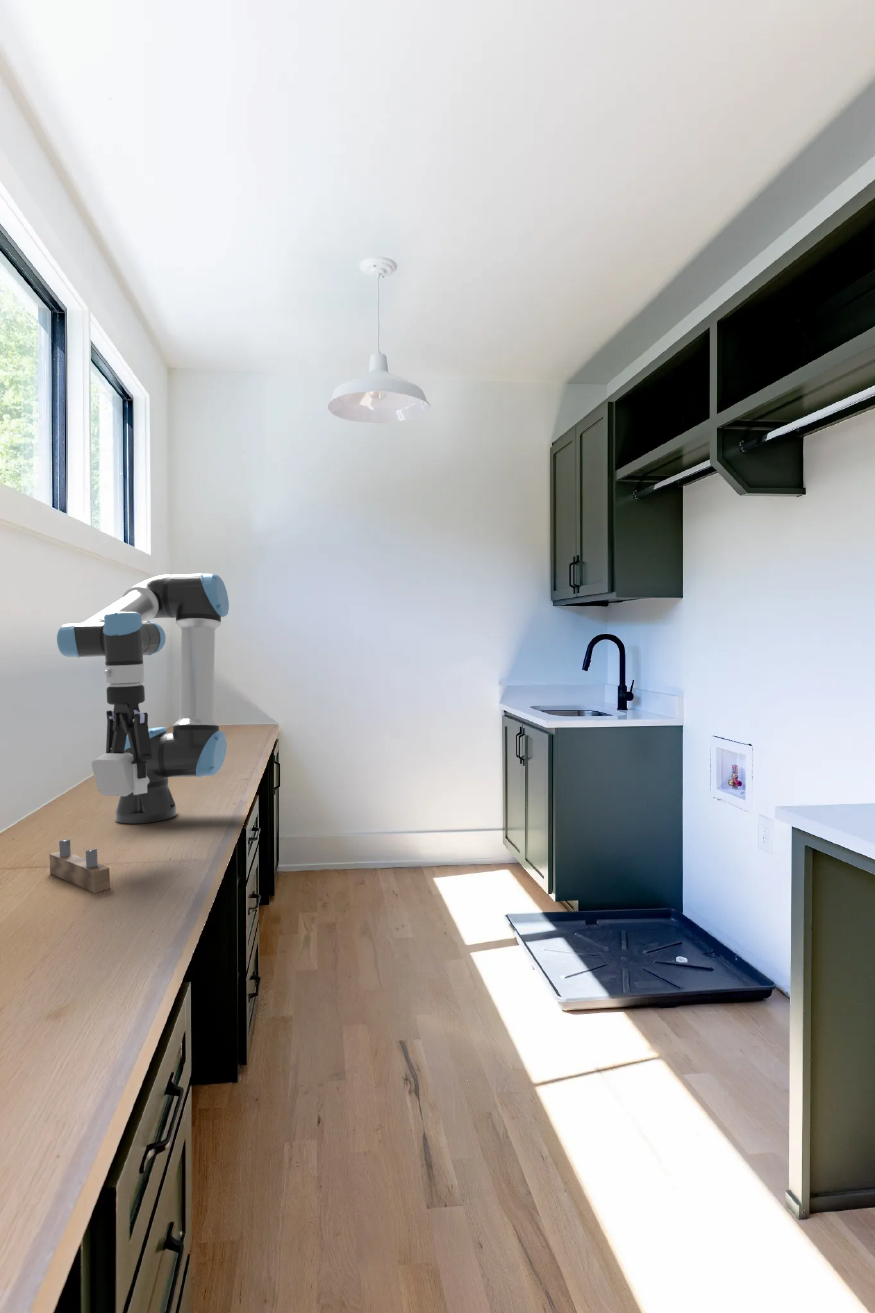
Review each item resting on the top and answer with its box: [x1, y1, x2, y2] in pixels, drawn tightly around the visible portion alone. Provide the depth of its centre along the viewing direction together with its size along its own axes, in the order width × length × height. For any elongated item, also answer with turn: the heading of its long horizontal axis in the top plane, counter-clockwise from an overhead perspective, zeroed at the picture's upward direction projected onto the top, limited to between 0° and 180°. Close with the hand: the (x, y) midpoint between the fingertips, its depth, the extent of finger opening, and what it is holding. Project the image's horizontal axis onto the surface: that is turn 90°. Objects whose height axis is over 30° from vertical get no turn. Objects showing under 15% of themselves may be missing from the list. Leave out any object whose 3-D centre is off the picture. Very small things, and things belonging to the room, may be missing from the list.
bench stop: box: [48, 839, 111, 894], centre depth 159 cm, size 20×3×7 cm, turn 47°
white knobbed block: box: [91, 752, 150, 797], centre depth 174 cm, size 8×10×10 cm
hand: (130, 791), depth 173 cm, fingers closed on white knobbed block, 8 cm apart
